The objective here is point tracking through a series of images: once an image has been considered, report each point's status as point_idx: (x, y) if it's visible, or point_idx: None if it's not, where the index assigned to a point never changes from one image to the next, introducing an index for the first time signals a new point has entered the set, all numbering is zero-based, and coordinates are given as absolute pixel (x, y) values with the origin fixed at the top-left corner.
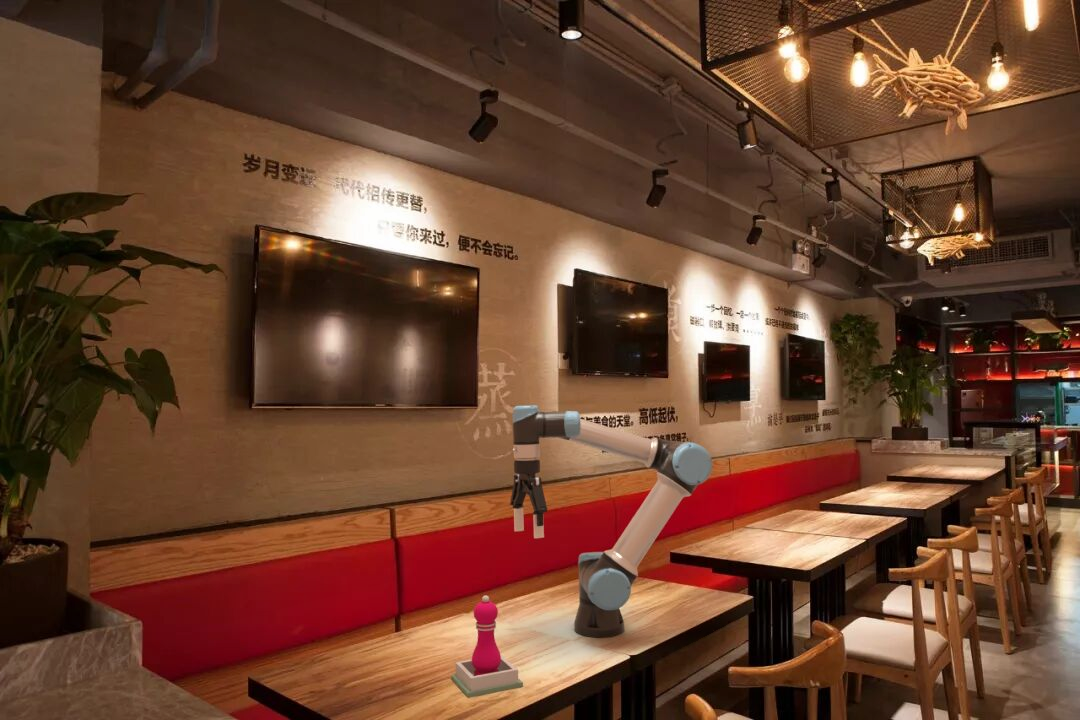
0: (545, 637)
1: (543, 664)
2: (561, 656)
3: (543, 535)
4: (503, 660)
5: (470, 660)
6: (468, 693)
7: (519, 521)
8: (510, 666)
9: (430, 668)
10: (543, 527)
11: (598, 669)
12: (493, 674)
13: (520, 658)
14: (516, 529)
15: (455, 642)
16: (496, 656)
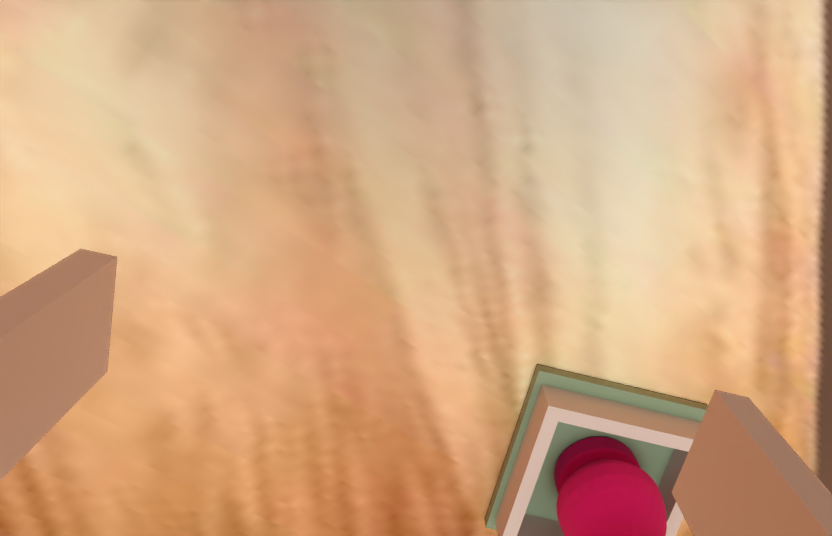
0: (351, 5)
1: (606, 231)
2: (593, 119)
3: (759, 417)
4: (606, 430)
5: (520, 505)
6: None
7: (41, 378)
8: (672, 446)
9: (359, 519)
10: (815, 479)
11: (811, 105)
12: (682, 519)
13: (492, 255)
14: (97, 369)
15: (168, 334)
16: (665, 515)
